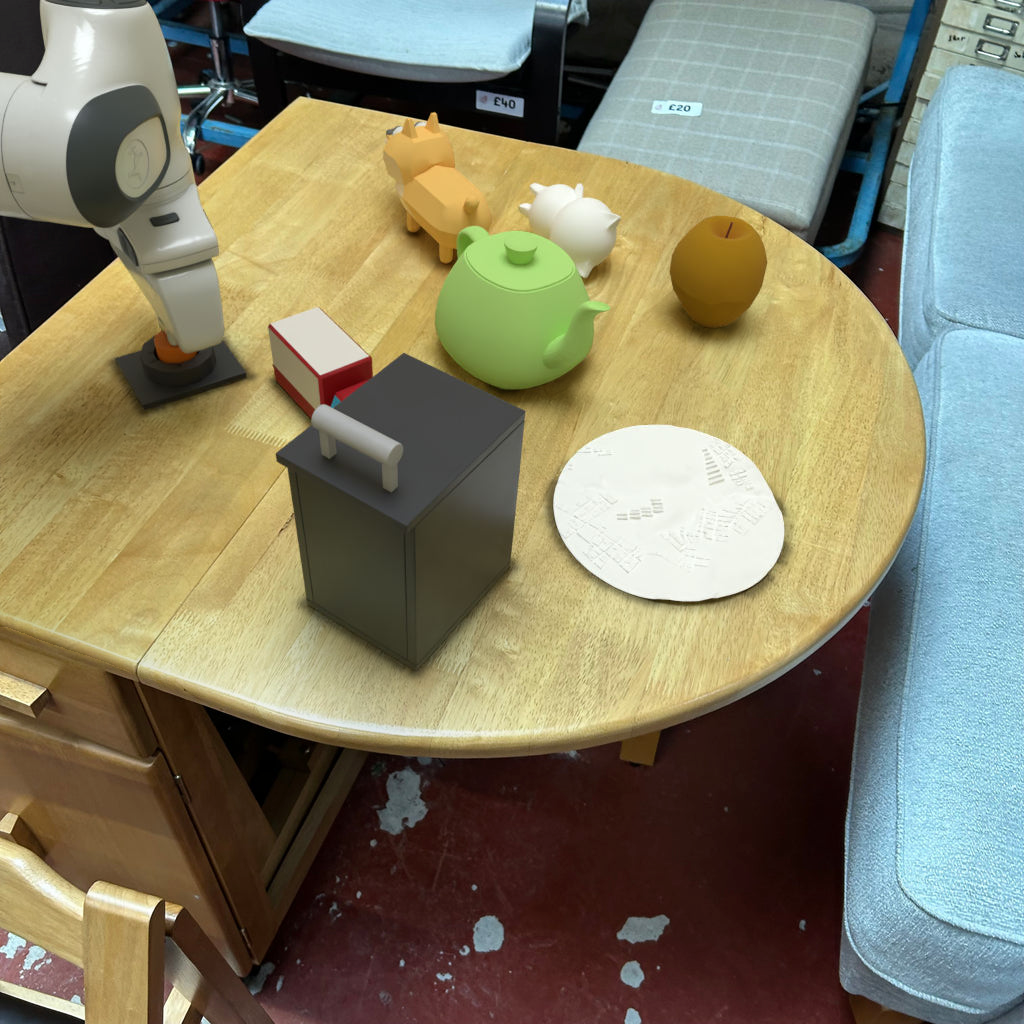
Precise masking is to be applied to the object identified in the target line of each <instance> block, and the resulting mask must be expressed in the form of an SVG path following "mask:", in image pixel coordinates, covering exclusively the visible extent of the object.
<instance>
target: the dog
mask: <svg viewBox="0 0 1024 1024" xmlns="http://www.w3.org/2000/svg"><path fill="white" fill-rule="evenodd" d="M384 144H385V145H384V147H383V149H382V157H383V162H384V165H385V169H386V172H387V175H388V176H389V177H391V178H392V179H394V180H395V185H394V190H395V192H396V194H397V196H398V198H399V200H400V203H401V205H402V206H403V208H405V210H406V227H407V230H408V231H409V232H411V233H416V232H418V231H419V229H420V227H421V228H423V230H424V231H426V232H427V233H428V234H429V235H430V236H431V237H432V238H433V239H434V240H435V242H437V243H438V244H439V247H438V250H439V252H438V257H439V261H440V262H441V263H442V264H445V265H446V264H449V263H451V262H453V261H452V260H453V257H454V255H453V254H454V250H457V236H458V234H459V232H460V231H461V230H463V229H464V228H467V227H470V226H479V227H482V228H483V229H485V230H486V231H487V232H488V233H489V231H490V229H491V227H492V225H493V214H492V211H491V208H490V206H489V203H488V201H487V198H486V196H485V194H484V193H483V192H482V190H480V188H478V187H477V186H476V185H474V184H473V183H472V182H471V181H470V180H469V179H467V177H465V176H464V175H463V174H462V173H460V172H459V171H458V170H457V169H456V157H455V152H454V147H453V146H452V143H451V142H450V140H449V137H448V136H447V134H446V132H445V131H444V130H443V129H442V128H440V124H439V119H438V114H437V113H436V112H435V111H434V112H430V114H429V117H428V119H427V121H417V122H416V123H415V124H414V121H413V118H412V117H406V118H405V121H404V123H403V126H401V125H396V126H395V127H394V128H389V129H386V132H385V139H384Z"/></svg>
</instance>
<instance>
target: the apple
mask: <svg viewBox="0 0 1024 1024" xmlns="http://www.w3.org/2000/svg"><path fill="white" fill-rule="evenodd" d="M766 251H767V250H766V248H765V244H764V241H763V239H762V237H761V235H760V233H759V232H758V230H756V229H755V228H754V227H753V225H751V223H748V222H747V221H745V220H744V219H742V218H738V217H734V216H728V215H712V216H709V217H705V218H703V219H702V220H701V221H699V222H698V223H697V224H695V225H694V226H692V228H691V229H689V230H688V232H687V233H686V234H685V235H684V236H683V237H682V238H681V239H680V240H679V241H678V242H677V244H676V246H675V248H674V250H673V252H672V254H671V258H670V266H669V276H670V281H671V286H672V290H673V292H674V293H675V295H676V297H677V299H678V300H679V303H680V304H681V307H683V310H684V311H685V313H686V314H687V315H688V316H689V317H690V318H691V319H692V320H693V321H694V322H696V323H697V324H698V325H700V326H702V327H705V328H722V327H723V328H724V327H726V326H728V325H730V324H733V323H734V322H735V321H736V320H738V319H739V318H740V317H741V316H742V315H743V314H745V313H746V311H749V309H750V308H751V306H752V305H753V303H754V302H755V300H756V299H757V297H758V295H759V293H760V291H761V290H762V287H763V284H764V279H765V276H766V271H767V266H768V258H767V252H766Z"/></svg>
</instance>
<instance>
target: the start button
mask: <svg viewBox="0 0 1024 1024" xmlns="http://www.w3.org/2000/svg"><path fill="white" fill-rule="evenodd" d="M155 335H156V336H155ZM155 335H154V336H155V338H154V343H155V347H156V351H157V355H158V358H159V359H160V360H161V361H162V362H165V363H182V362H185V361H189V360H191V359H192V358H194V357H195V356H196V354H197V351H196V352H193V353H184V352H183V351H182V350H181V349H180V348H179V346H178V345H176V346H173V345H171V344H170V343H169V341H168V340H167V338H166V337H165V335H164V334H163V332H162V331H161V330H160V331H158V332H157V333H156V334H155Z"/></svg>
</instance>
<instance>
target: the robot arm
mask: <svg viewBox="0 0 1024 1024" xmlns="http://www.w3.org/2000/svg"><path fill="white" fill-rule="evenodd" d="M39 15H40V24H41V32H42V39H43V44H44V50H45V51H44V54H43V57H42V60H41V62H40V64H39V65H38V68H37V69H36V71H35V72H34V73H32V75H23V74H16V73H10V72H2V71H0V216H2V217H8V218H16V219H21V220H29V221H36V222H45V223H46V222H47V223H52V224H60V225H66V226H73V227H82V228H92V229H93V230H94V231H95V233H96V234H97V235H99V236H100V237H102V238H104V239H105V240H108V241H109V244H110V247H111V248H112V250H113V251H114V253H115V254H116V256H117V257H118V259H119V260H120V262H121V263H122V265H123V266H124V267H125V269H126V270H127V272H128V274H129V275H130V276H131V278H132V279H133V281H134V282H135V284H136V285H137V287H138V288H139V290H140V291H141V293H142V294H143V296H144V297H145V298H146V300H147V301H148V303H149V304H150V306H151V308H152V309H153V312H154V314H155V317H156V320H157V325H158V328H159V329H160V331H162V332H163V334H164V335H165V337H166V338H167V340H168V341H169V343H170V344H171V345H173V346H176V345H178V346H179V348H180V349H181V350H182V351H183V352H184V353H193V352H196V351H200V350H203V349H207V348H210V347H213V346H216V345H218V344H220V343H221V341H222V340H223V339H224V337H225V319H224V310H223V303H222V295H221V288H220V281H219V277H218V276H219V275H218V272H217V268H216V265H215V263H214V260H213V258H215V257H218V256H220V246H219V240H218V236H217V234H216V231H215V230H214V227H213V225H212V223H211V222H210V219H209V217H208V216H207V213H206V211H205V209H204V208H203V206H202V202H201V197H200V191H199V188H198V186H197V183H196V179H195V173H194V168H193V163H192V159H191V155H190V152H189V149H188V148H187V146H186V144H185V142H184V140H183V136H182V133H181V122H182V105H181V100H180V94H179V89H178V85H177V80H176V76H175V72H174V68H173V63H172V60H171V56H170V52H169V49H168V45H167V42H166V39H165V36H164V34H163V30H162V27H161V25H160V22H159V20H158V18H157V16H156V14H155V11H154V10H153V8H152V6H151V5H150V3H149V2H148V0H39Z"/></svg>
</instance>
